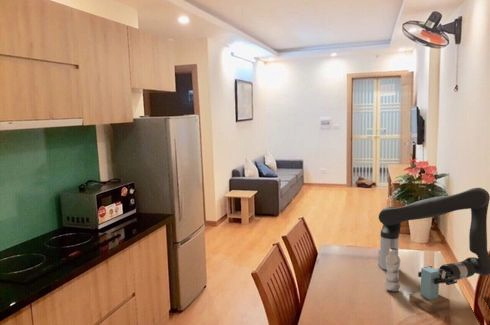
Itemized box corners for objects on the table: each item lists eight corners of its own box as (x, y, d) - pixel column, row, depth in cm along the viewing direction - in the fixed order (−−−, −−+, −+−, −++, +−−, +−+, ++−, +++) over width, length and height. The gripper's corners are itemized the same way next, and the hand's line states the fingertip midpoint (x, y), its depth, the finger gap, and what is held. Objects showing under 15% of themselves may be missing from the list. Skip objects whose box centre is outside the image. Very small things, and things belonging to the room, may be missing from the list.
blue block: (420, 295, 164) (421, 268, 163) (428, 293, 166) (429, 266, 165) (429, 300, 159) (431, 272, 158) (438, 297, 161) (439, 270, 160)
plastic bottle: (390, 294, 173) (392, 251, 171) (381, 288, 179) (383, 247, 177) (402, 292, 174) (404, 250, 172) (393, 286, 181) (394, 246, 179)
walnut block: (409, 302, 165) (409, 294, 165) (426, 297, 170) (426, 289, 170) (431, 314, 155) (431, 305, 155) (448, 308, 160) (449, 299, 160)
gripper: (439, 258, 173) (413, 263, 167) (469, 269, 160) (441, 275, 154) (439, 274, 174) (412, 280, 168) (468, 286, 161) (440, 293, 154)
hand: (426, 278), depth 161 cm, fingers open, 7 cm apart
